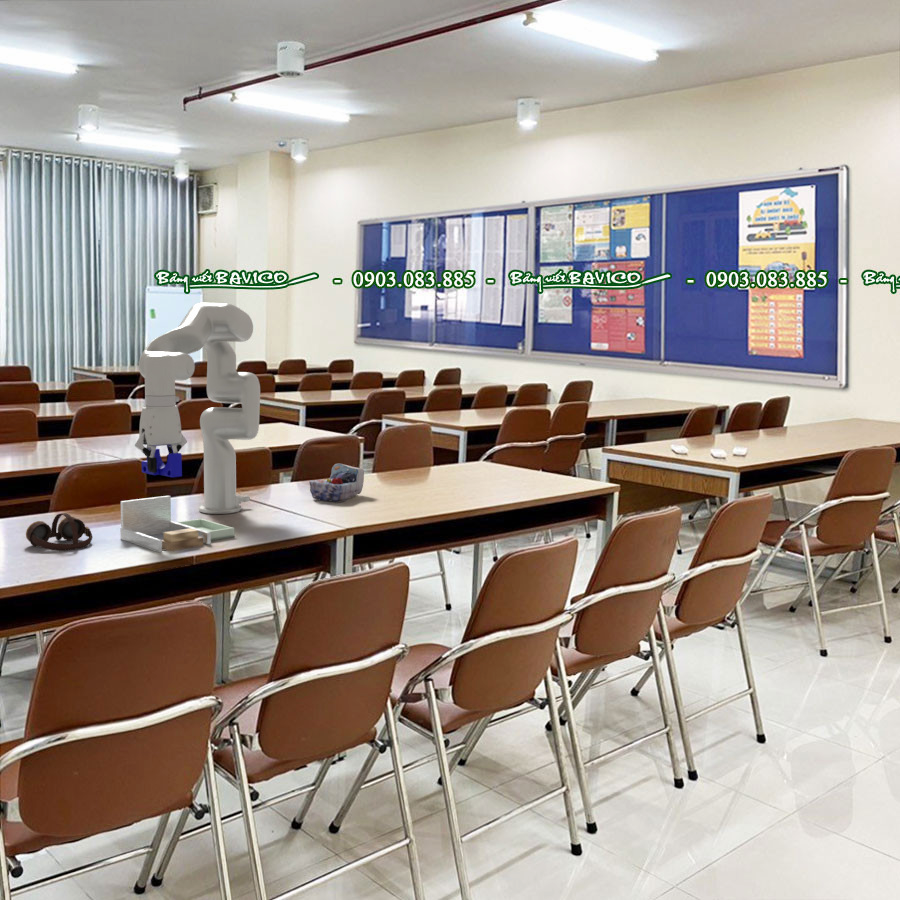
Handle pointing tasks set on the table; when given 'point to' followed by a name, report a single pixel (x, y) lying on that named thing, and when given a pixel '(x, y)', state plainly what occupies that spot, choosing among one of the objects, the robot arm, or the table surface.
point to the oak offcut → (180, 535)
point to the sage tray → (211, 528)
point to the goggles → (59, 533)
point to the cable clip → (170, 469)
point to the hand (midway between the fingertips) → (161, 470)
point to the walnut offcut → (182, 544)
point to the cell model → (338, 484)
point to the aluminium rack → (150, 522)
